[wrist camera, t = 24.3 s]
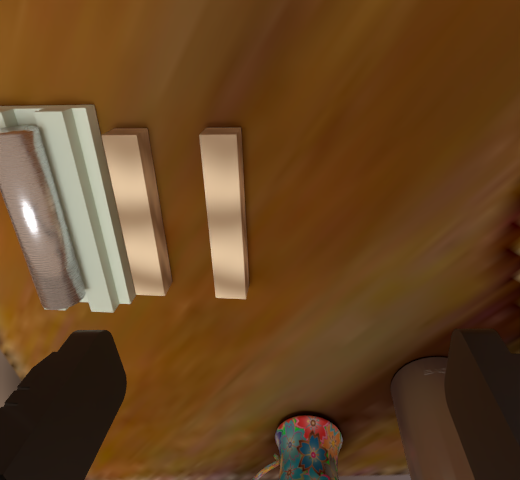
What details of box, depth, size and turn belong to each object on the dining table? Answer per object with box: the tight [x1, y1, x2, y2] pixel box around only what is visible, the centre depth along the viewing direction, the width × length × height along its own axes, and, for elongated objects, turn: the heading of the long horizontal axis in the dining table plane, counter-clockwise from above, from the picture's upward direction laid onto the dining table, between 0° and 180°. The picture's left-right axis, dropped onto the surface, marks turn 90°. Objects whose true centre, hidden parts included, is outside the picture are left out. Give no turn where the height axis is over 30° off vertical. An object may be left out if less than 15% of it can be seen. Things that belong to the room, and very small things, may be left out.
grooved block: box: [0, 105, 136, 312], centre depth 38 cm, size 20×10×3 cm, turn 2°
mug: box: [252, 415, 343, 480], centre depth 47 cm, size 12×9×11 cm
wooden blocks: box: [102, 128, 249, 299], centre depth 37 cm, size 16×11×2 cm
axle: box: [0, 126, 86, 310], centre depth 35 cm, size 16×4×4 cm, turn 2°
